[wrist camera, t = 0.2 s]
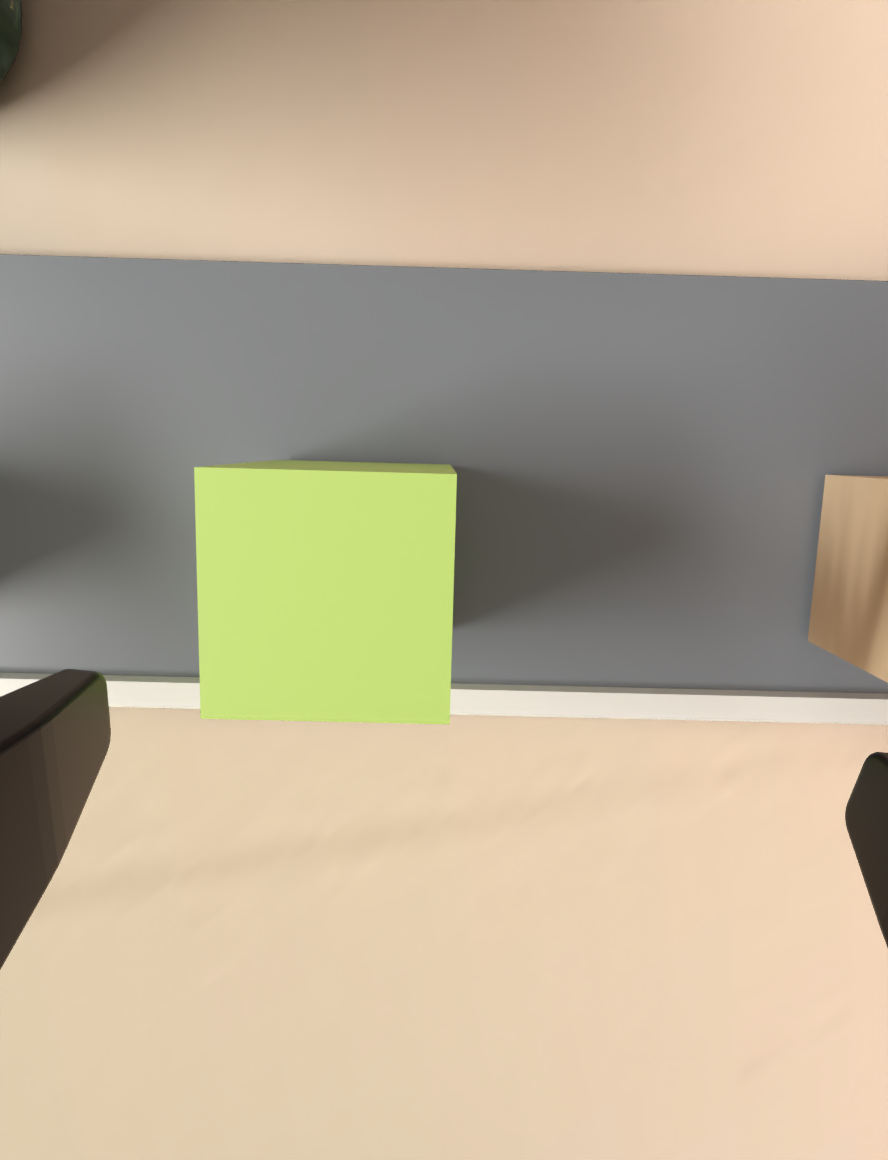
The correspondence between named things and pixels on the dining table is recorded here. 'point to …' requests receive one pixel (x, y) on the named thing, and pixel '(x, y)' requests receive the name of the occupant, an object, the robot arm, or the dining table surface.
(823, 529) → the brown wooden block
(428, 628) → the green block
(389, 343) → the slate board
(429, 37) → the dining table surface
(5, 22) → the coffee jar
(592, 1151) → the dining table surface
